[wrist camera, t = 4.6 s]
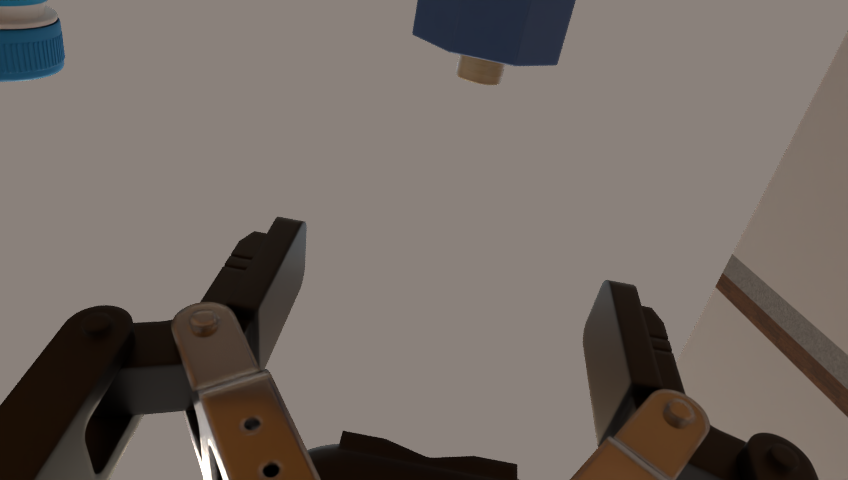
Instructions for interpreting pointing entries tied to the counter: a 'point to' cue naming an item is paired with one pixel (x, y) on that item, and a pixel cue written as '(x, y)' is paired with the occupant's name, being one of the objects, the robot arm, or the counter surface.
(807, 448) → the white square vase
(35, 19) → the beverage bottle
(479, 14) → the sleeve
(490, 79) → the dowel stand
